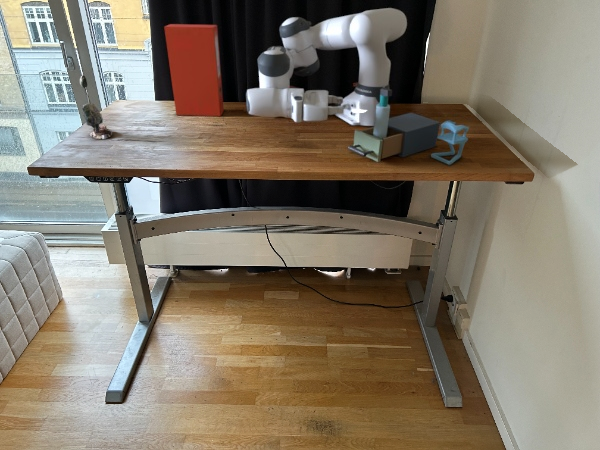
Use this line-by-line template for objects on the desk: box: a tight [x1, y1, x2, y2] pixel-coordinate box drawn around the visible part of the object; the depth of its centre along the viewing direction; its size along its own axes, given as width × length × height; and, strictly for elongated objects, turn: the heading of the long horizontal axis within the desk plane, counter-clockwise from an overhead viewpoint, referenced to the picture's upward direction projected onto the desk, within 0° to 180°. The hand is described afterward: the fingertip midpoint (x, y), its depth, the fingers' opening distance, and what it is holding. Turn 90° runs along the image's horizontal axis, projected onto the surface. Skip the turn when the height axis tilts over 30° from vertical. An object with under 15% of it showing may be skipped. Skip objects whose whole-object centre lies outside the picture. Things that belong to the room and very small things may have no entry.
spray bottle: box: [373, 88, 393, 140], centre depth 134 cm, size 4×4×19 cm
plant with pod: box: [79, 74, 113, 140], centre depth 144 cm, size 8×11×20 cm
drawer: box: [347, 126, 405, 163], centre depth 137 cm, size 20×11×7 cm, turn 126°
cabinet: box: [388, 112, 441, 158], centre depth 144 cm, size 16×12×8 cm
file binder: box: [164, 23, 225, 117], centre depth 165 cm, size 8×17×32 cm, turn 89°
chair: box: [430, 120, 470, 166], centre depth 135 cm, size 8×8×12 cm
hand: (343, 105), depth 132 cm, fingers open, 8 cm apart
